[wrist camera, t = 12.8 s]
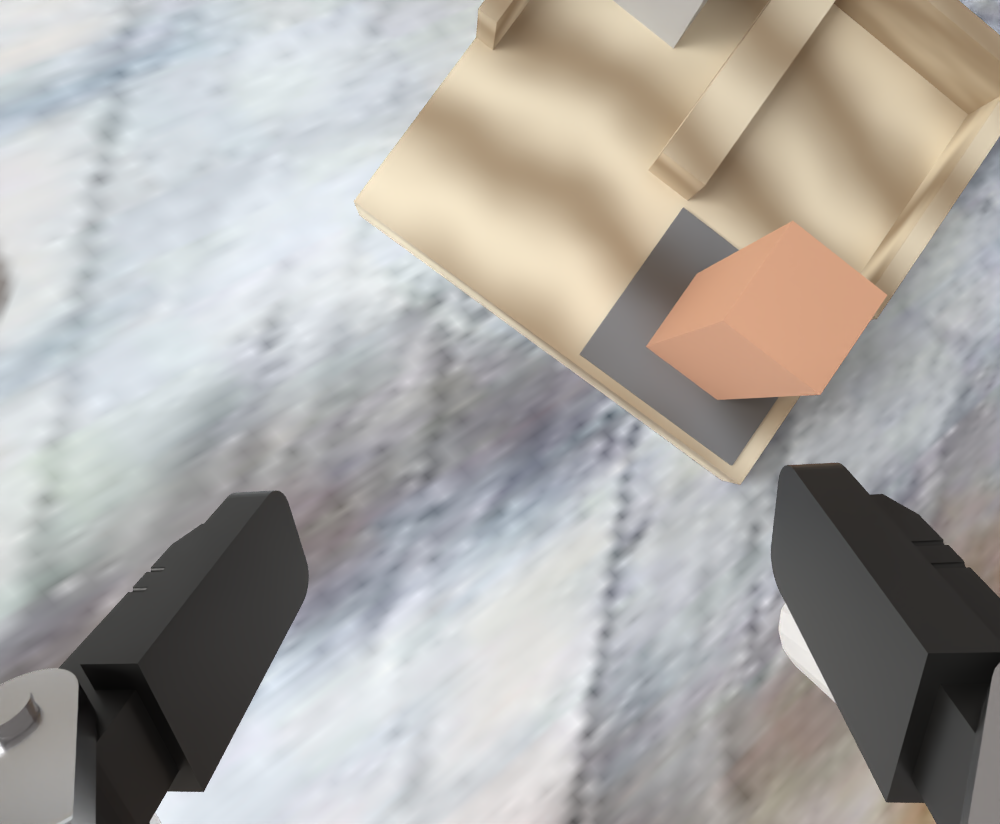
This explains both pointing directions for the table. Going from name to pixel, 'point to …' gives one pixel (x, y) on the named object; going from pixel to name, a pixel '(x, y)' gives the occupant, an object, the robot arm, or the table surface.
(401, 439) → the table surface
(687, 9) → the grey block
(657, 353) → the terracotta block
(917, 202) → the wooden divided tray
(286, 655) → the table surface
